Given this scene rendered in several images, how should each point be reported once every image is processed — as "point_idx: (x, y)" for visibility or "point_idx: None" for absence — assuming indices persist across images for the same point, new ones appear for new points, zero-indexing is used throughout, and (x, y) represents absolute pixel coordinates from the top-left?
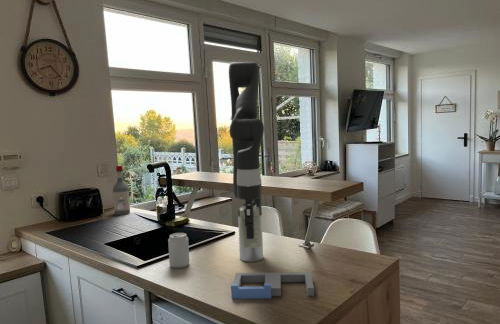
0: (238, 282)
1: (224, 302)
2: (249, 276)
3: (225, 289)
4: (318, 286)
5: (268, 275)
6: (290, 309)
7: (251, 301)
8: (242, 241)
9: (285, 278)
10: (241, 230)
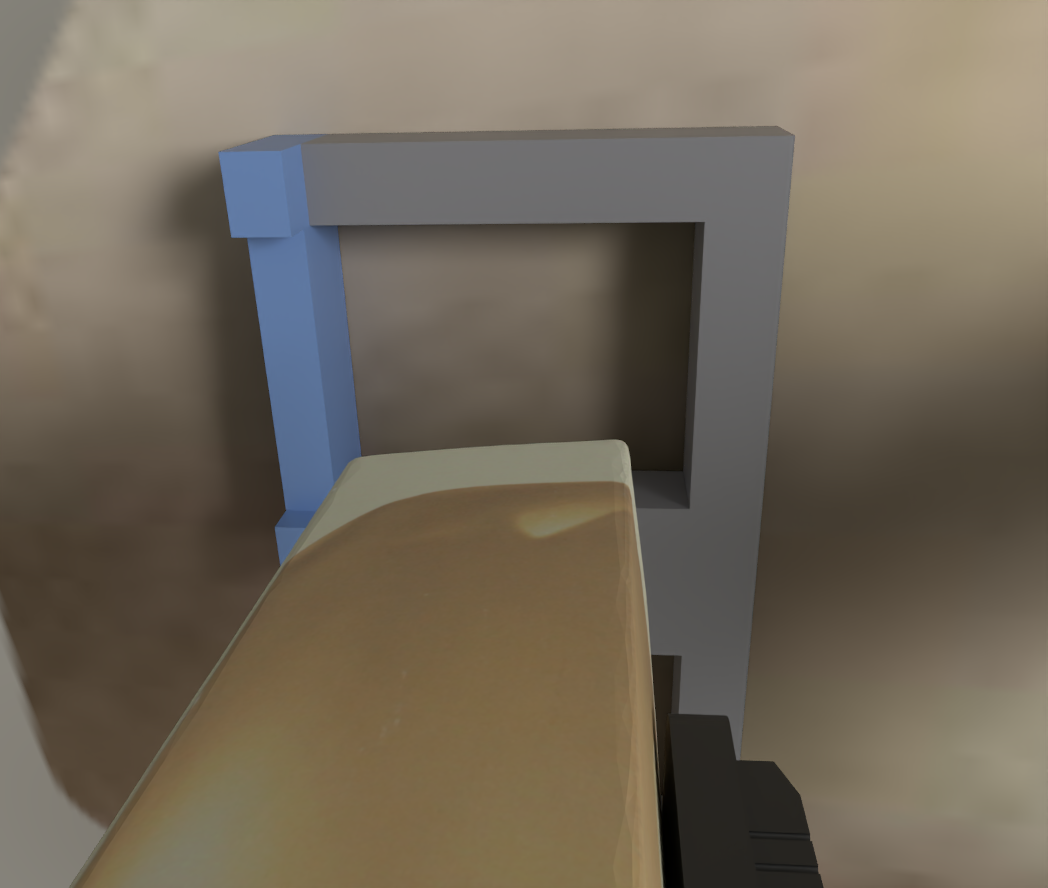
0: (476, 209)
1: (179, 63)
2: (698, 324)
3: (503, 20)
4: None
5: (673, 543)
6: (155, 653)
7: (242, 349)
8: (301, 541)
9: (675, 675)
10: (187, 714)
